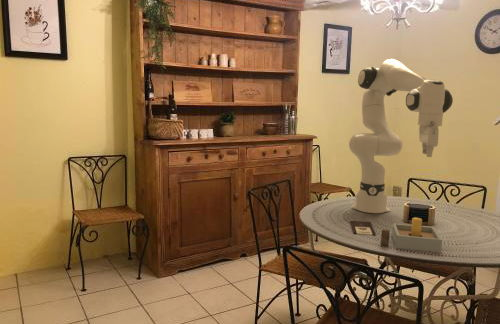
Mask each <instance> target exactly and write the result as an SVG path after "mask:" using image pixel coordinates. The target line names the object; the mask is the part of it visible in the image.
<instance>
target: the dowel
mask: <svg viewBox="0 0 500 324" xmlns="http://www.w3.org/2000/svg"><path fill="white" fill-rule="evenodd" d="M422 223H423V219H422V218H420V217H412V219H411V225H412V226H411V236H415V237H420V236H421V226H423V224H422Z"/></svg>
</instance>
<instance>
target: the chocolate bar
mask: <svg viewBox="0 0 500 324" xmlns="http://www.w3.org/2000/svg"><path fill="white" fill-rule="evenodd" d="M349 223H350V227H351V230H352V234H353V235H361V236H375V237H376V234H377V233H376V232H375V230H374V227H373V225H372V222H371V221H362V220H350V221H349Z"/></svg>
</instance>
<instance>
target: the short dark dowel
mask: <svg viewBox="0 0 500 324" xmlns="http://www.w3.org/2000/svg"><path fill="white" fill-rule="evenodd" d="M390 233H391V232H390V230H389V229H386V228H382V229H381V233H380V236H381V237H380V238H381V239H380V246H382V247H385V248H386V247H389V243H390Z"/></svg>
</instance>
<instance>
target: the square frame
mask: <svg viewBox="0 0 500 324" xmlns="http://www.w3.org/2000/svg"><path fill="white" fill-rule="evenodd" d="M411 226H412V224H404V223H394V222H393V223H392V228H391V229H392V230H391V236H392V240H393V242H394V246H395V249H401V250H412V251H420V252H429V251H431V252H430V253H438V254H441V253H442V245H443V244H442V243H443V239H442V237H441V236H440V234H439V232H438V231H437V229H436V228H435V227H434V226H426V225H422V226H421V236H420V237H415V236H411Z"/></svg>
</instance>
